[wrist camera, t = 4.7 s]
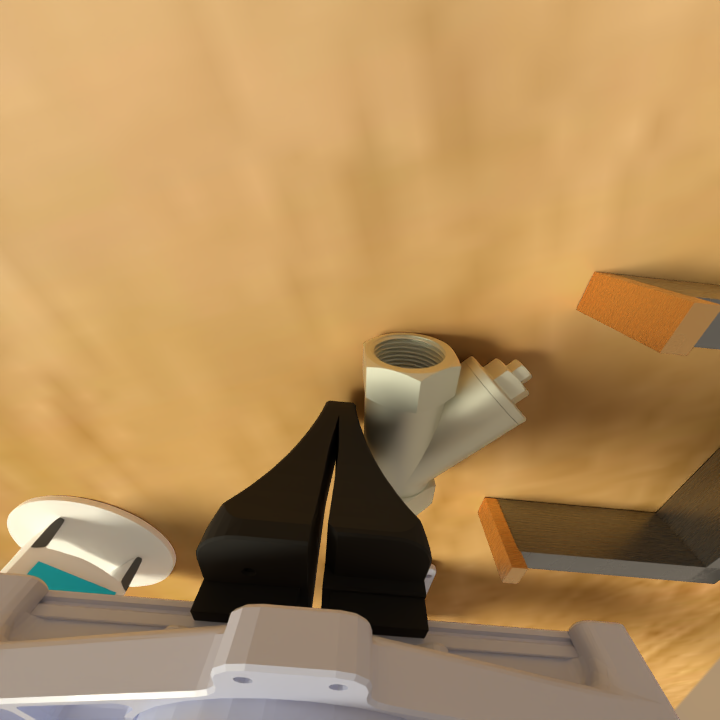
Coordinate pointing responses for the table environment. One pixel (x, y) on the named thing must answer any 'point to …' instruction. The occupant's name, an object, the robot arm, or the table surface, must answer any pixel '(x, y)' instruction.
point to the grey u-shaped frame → (621, 527)
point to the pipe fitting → (433, 409)
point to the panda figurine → (86, 546)
